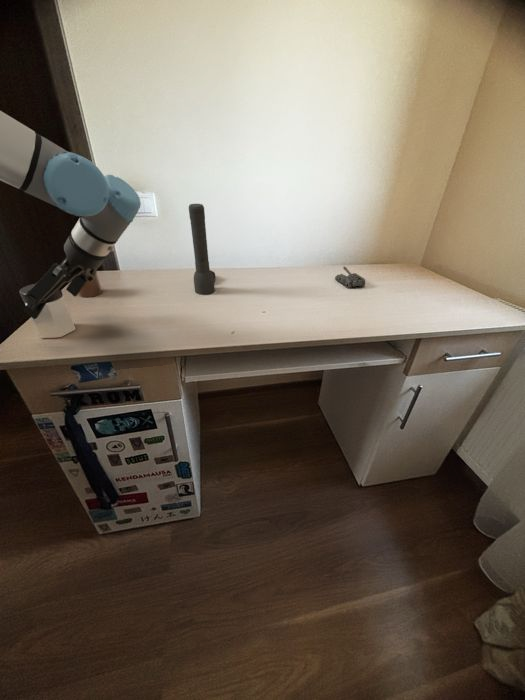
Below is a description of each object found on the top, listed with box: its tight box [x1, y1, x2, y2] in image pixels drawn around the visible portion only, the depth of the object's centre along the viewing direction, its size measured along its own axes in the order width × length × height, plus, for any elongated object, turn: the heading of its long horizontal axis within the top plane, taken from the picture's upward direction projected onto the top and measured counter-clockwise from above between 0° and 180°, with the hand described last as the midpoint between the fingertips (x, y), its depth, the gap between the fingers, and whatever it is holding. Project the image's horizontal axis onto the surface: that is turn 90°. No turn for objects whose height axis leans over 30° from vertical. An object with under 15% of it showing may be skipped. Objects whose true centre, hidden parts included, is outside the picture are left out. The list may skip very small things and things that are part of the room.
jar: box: [18, 283, 76, 339], centre depth 72 cm, size 9×8×12 cm
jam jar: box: [77, 272, 103, 298], centre depth 94 cm, size 7×7×9 cm
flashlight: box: [188, 203, 215, 296], centre depth 93 cm, size 7×28×7 cm
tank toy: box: [334, 266, 366, 289], centre depth 113 cm, size 12×10×5 cm
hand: (52, 302), depth 70 cm, fingers open, 13 cm apart
